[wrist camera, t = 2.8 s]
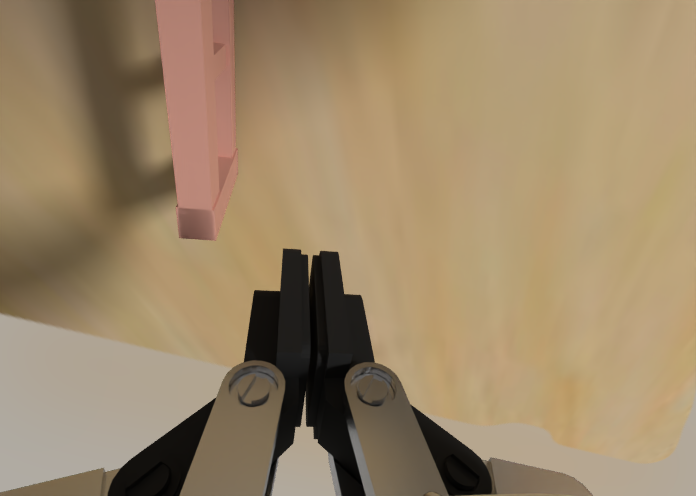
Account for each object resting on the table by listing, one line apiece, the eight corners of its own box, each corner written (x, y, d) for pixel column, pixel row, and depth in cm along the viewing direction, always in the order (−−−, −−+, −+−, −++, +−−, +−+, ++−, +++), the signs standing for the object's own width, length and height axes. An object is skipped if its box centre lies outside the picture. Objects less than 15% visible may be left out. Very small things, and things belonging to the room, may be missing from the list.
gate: (194, -139, 16) (128, -200, 10) (234, -130, 16) (194, -184, 10) (210, 171, 24) (179, 237, 18) (238, 173, 24) (215, 240, 18)
